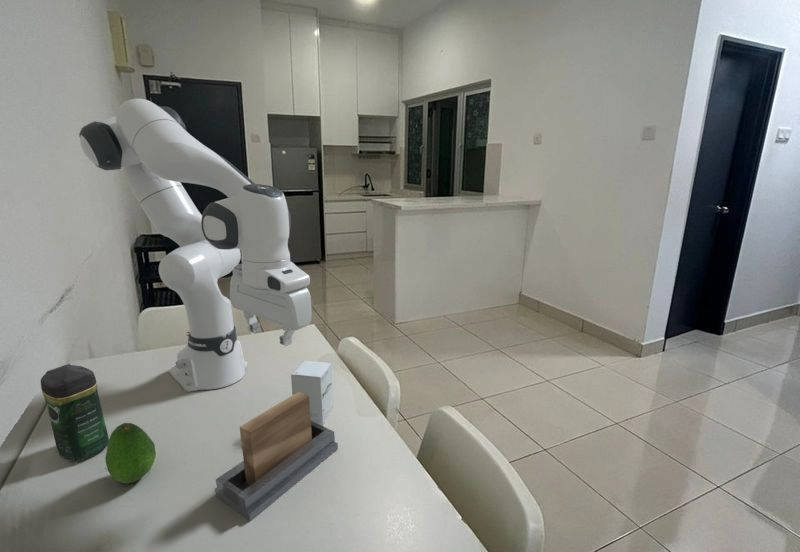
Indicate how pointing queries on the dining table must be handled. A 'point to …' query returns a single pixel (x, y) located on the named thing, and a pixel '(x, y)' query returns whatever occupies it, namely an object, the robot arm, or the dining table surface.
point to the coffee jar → (75, 412)
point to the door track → (274, 475)
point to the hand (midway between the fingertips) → (269, 337)
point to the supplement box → (315, 388)
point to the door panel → (275, 435)
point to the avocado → (129, 453)
